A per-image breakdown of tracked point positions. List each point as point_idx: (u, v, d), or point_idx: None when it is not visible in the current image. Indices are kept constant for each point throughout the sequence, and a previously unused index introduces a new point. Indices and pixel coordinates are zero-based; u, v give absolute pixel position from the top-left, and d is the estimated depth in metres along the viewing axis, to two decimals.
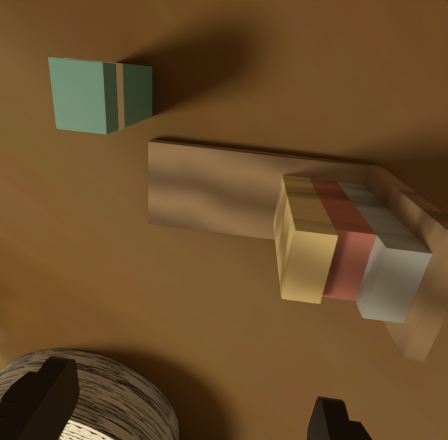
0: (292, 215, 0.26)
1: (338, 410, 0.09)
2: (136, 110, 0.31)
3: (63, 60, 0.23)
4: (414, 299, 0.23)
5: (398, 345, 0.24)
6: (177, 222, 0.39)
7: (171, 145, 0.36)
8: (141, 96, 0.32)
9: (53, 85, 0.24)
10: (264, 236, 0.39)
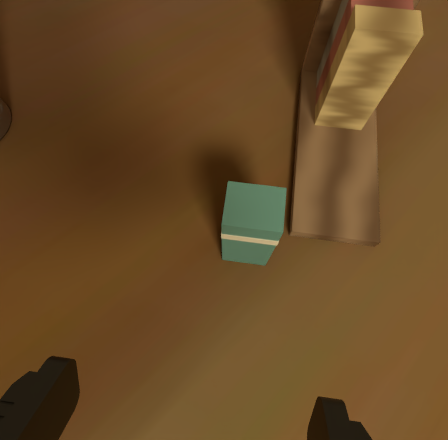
0: (344, 53, 0.32)
1: (338, 410, 0.09)
2: None
3: (224, 212, 0.27)
4: None
5: None
6: (374, 213, 0.38)
7: (294, 210, 0.38)
8: None
9: (244, 225, 0.26)
10: (374, 137, 0.42)
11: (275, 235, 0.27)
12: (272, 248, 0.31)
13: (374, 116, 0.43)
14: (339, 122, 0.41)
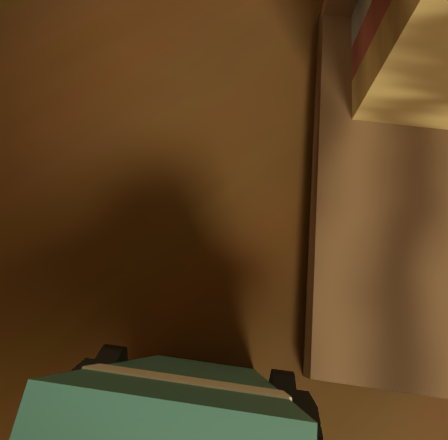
0: None
1: (287, 380, 0.10)
2: (234, 374, 0.12)
3: None
4: None
5: None
6: None
7: (315, 321, 0.16)
8: (205, 367, 0.13)
9: None
10: None
11: None
12: None
13: None
14: (407, 113, 0.19)
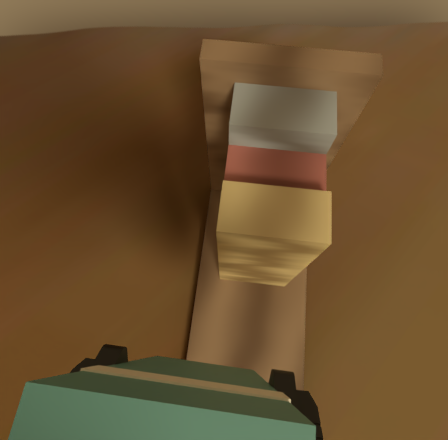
0: (217, 244, 0.20)
1: (287, 380, 0.10)
2: (234, 376, 0.12)
3: None
4: (297, 85, 0.19)
5: (370, 88, 0.18)
6: None
7: None
8: (204, 368, 0.13)
9: None
10: (303, 297, 0.30)
11: None
12: None
13: None
14: (251, 280, 0.29)
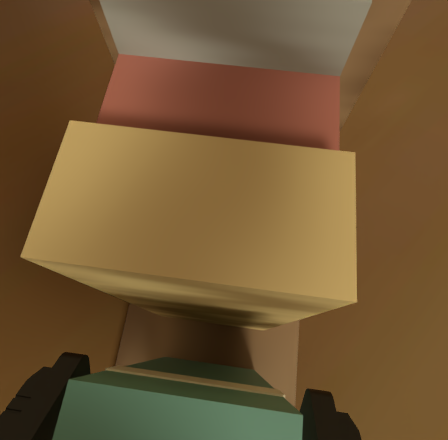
0: (84, 281, 0.08)
1: (325, 401, 0.10)
2: (236, 375, 0.13)
3: None
4: None
5: None
6: None
7: None
8: (209, 368, 0.15)
9: None
10: (293, 349, 0.18)
11: None
12: None
13: None
14: (209, 321, 0.18)
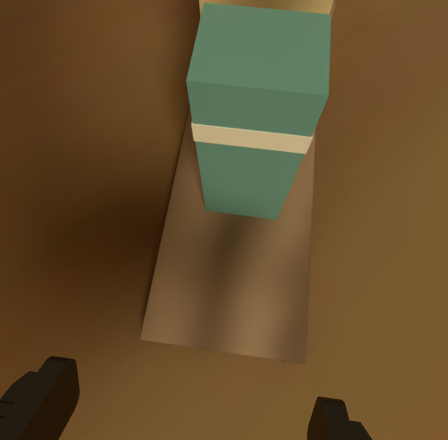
0: None
1: (338, 410, 0.09)
2: None
3: (194, 57, 0.12)
4: None
5: None
6: (298, 301, 0.20)
7: (151, 296, 0.21)
8: None
9: (239, 82, 0.11)
10: (310, 157, 0.24)
11: (308, 112, 0.12)
12: (295, 166, 0.16)
13: None
14: None
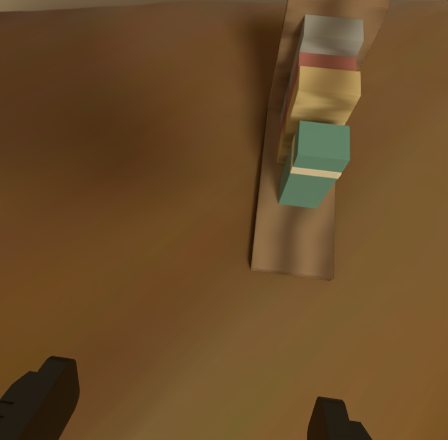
0: (293, 107, 0.34)
1: (338, 410, 0.09)
2: None
3: (299, 144, 0.32)
4: (341, 16, 0.34)
5: (382, 17, 0.33)
6: (329, 249, 0.41)
7: (254, 247, 0.41)
8: None
9: (317, 155, 0.31)
10: None
11: (341, 165, 0.32)
12: (332, 183, 0.36)
13: None
14: None
